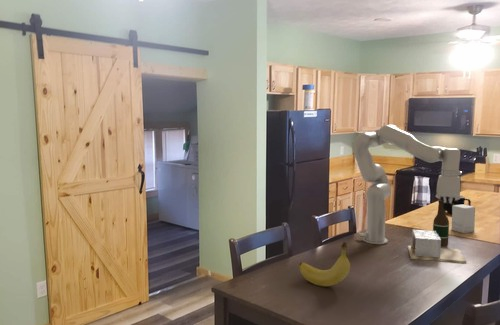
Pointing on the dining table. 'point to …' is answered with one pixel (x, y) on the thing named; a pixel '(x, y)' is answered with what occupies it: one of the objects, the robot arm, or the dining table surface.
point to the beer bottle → (441, 224)
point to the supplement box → (463, 218)
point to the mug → (458, 202)
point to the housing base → (441, 255)
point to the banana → (327, 271)
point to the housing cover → (426, 243)
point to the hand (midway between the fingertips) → (446, 210)
